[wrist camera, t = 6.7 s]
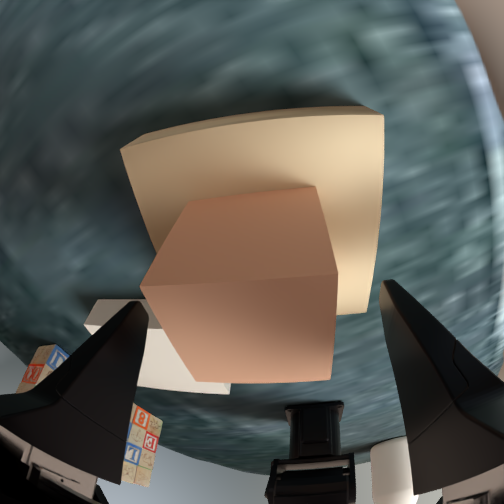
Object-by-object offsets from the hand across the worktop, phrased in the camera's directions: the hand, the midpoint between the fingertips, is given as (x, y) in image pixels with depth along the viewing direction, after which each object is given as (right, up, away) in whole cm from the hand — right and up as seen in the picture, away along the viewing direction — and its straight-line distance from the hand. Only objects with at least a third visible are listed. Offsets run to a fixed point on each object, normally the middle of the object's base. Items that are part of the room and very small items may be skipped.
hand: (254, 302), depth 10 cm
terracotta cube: (0, +2, +2) cm, 3 cm away
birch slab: (+1, +4, +5) cm, 6 cm away
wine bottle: (+28, -36, +31) cm, 55 cm away
